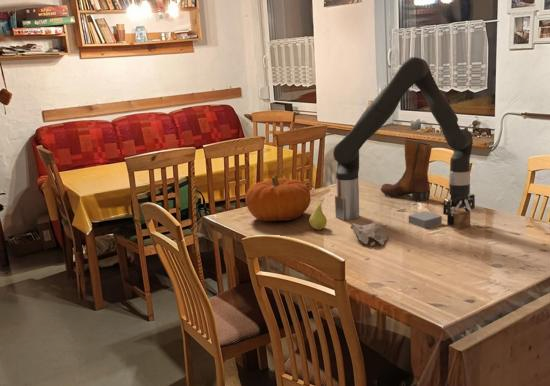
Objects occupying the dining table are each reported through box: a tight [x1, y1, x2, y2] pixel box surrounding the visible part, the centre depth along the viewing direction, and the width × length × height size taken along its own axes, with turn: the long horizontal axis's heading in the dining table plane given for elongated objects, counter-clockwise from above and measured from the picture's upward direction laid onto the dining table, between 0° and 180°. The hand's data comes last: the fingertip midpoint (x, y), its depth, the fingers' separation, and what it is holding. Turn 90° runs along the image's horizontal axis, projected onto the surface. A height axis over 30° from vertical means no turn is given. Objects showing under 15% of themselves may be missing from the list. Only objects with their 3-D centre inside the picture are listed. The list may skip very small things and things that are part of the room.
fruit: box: [308, 198, 328, 231], centre depth 222 cm, size 7×8×12 cm
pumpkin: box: [244, 173, 312, 222], centre depth 238 cm, size 28×28×20 cm
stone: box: [350, 221, 388, 247], centre depth 207 cm, size 15×8×15 cm
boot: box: [380, 139, 433, 202], centre depth 256 cm, size 25×9×27 cm, turn 39°
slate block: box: [408, 210, 443, 229], centre depth 221 cm, size 9×9×4 cm
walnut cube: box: [446, 208, 471, 231], centre depth 215 cm, size 6×6×6 cm
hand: (458, 222), depth 215 cm, fingers open, 8 cm apart
